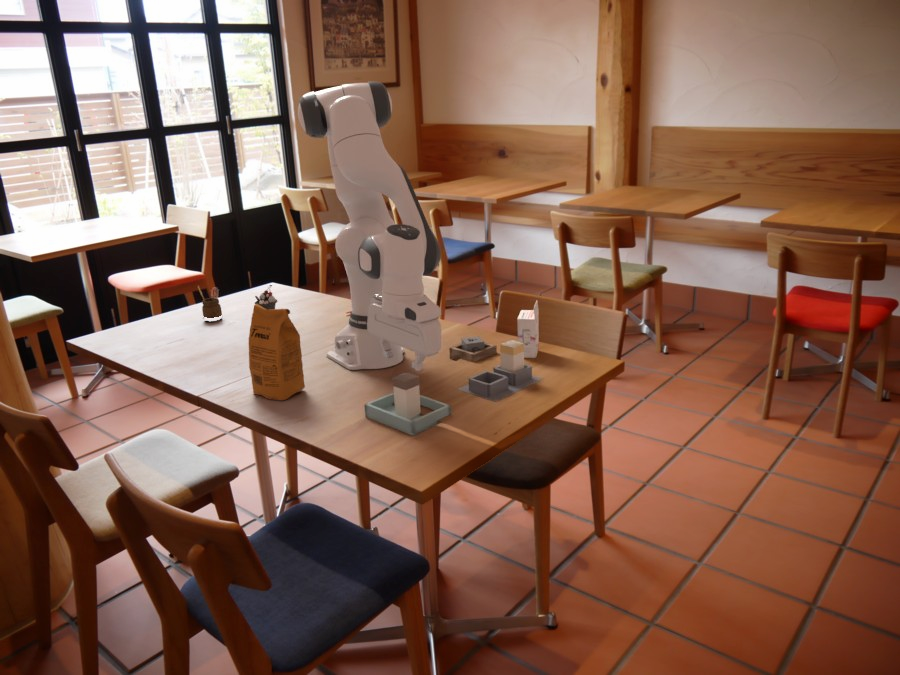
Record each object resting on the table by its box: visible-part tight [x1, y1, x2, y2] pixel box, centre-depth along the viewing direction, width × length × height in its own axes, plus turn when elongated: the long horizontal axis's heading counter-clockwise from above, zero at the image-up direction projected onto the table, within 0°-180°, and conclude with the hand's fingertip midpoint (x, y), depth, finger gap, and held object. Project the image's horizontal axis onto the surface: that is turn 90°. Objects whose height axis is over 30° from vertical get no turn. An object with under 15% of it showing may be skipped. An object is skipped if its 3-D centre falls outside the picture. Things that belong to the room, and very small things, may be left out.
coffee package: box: [248, 303, 306, 401], centre depth 179 cm, size 10×12×22 cm
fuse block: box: [457, 363, 544, 403], centre depth 179 cm, size 12×18×4 cm, turn 136°
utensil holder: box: [197, 285, 223, 318], centre depth 244 cm, size 6×6×12 cm
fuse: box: [499, 339, 525, 372], centre depth 181 cm, size 4×4×9 cm
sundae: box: [254, 284, 278, 310], centre depth 227 cm, size 7×7×15 cm
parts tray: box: [364, 391, 452, 437], centre depth 165 cm, size 16×12×3 cm
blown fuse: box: [391, 371, 422, 419], centre depth 164 cm, size 4×4×9 cm
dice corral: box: [449, 342, 498, 363], centre depth 200 cm, size 9×9×3 cm
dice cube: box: [460, 335, 485, 353], centre depth 200 cm, size 5×5×5 cm
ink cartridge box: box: [516, 299, 540, 359], centre depth 198 cm, size 9×5×15 cm, turn 168°
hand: (402, 363), depth 162 cm, fingers open, 8 cm apart
